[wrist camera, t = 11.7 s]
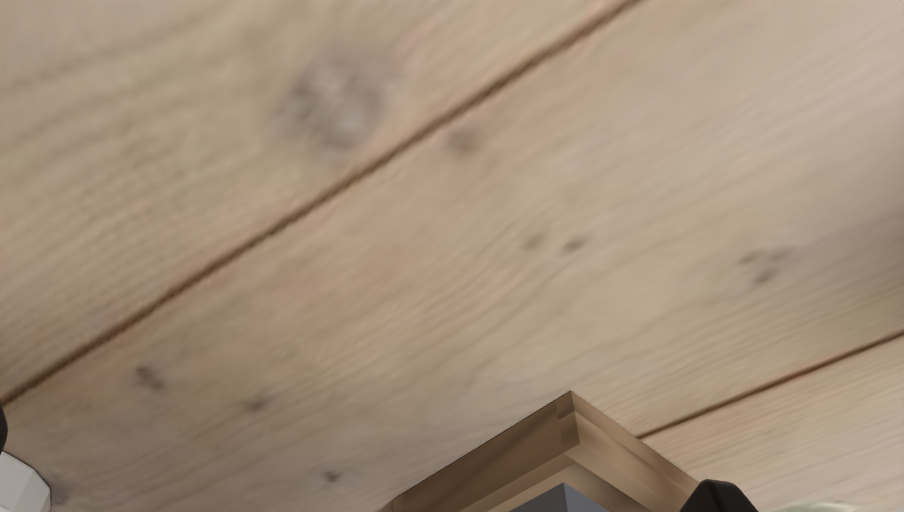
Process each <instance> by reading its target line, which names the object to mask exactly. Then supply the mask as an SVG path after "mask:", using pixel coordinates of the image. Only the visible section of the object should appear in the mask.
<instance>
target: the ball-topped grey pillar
mask: <svg viewBox="0 0 904 512" xmlns="http://www.w3.org/2000/svg"><path fill="white" fill-rule="evenodd" d="M509 512H610V511H608V510H607V509H605V508H604V507H602V506H601V505H599V504H597V503H596V502H594V501H593V500H591V499H590V498H588V497H586V496H585V495H583V494H582V493H580V492H579V491H577V490H575V489H574V488H572V487H571V486H569V485H568V484H566V483H564V482H563V483H561V484H559V485H557V486H555V487H554V488H552V489H550V490H548V491H546V492H544V493H542V494H540V495H539V496H537V497H535V498H533V499H531V500H529V501H527V502H526V503H524V504H522V505H520V506H518V507H516V508H514V509H513V510H511V511H509Z"/></svg>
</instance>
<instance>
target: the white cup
mask: <svg viewBox="0 0 904 512" xmlns="http://www.w3.org/2000/svg"><path fill="white" fill-rule="evenodd" d="M50 508H51V502H50V488H49V487H48V486H47V484H46V483H45V482H44V481H43V480H42V478H41V477H40V476H39V475H38V474H37V472H36V471H35V470H34V469H33V468H31V467H30V466H28V465H26V464H25V463H23V462H21V461H19V460H18V459H16V458H14V457H12V456H11V455H9V454H7V453H5V452H3V451H2V453H1V455H0V512H49V511H50Z"/></svg>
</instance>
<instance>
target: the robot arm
mask: <svg viewBox="0 0 904 512" xmlns="http://www.w3.org/2000/svg"><path fill="white" fill-rule="evenodd" d="M7 433H8V426H7V421H6V417H5V414H4V411H3V407H2V404H1V400H0V455H1V453H2V450H3V448H4V445H5V442H6V439H7ZM679 512H758V511H757V509H756V508H755V507H754V506H753V504H752V503H751V502H750V501H749V500H748V498H747V497H746V496H745V495H744V493H743V492H742V491H741V490H740V489H739V488H738V487H737V486H736V485H734V484H733V483H730V482H726V481H718V480H711V479H705V480H703V481H701V482H700V483H699V484H698V486H697V487H696V488H695V490H694V491H693V492H692V494H691V495H690V497H689V498H688V499H687V501H686V502H685V503H684V505H683V506H682V507H681V509H680V511H679Z"/></svg>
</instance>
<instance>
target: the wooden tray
mask: <svg viewBox="0 0 904 512" xmlns="http://www.w3.org/2000/svg"><path fill="white" fill-rule="evenodd" d="M563 482H564V483H566V484H568V485H569V486H571V487H572V488H574V489H575V490H577V491H579V492H580V493H582V494H583V495H585V496H586V497H588V498H590V499H591V500H593V501H594V502H596V503H597V504H599V505H601V506H602V507H604V508H605V509H607V510H608V511H610V512H679V511H680V509H681V507H682V506H683V505H684V503H685V502H686V501H687V499H688V498H689V497H690V495H691V494H692V492H693V491H694V490H695V488H696V487H697V486H698V484H699V483H698V482H697V481H696V480H694V479H693V478H691V477H690V476H689V475H687V474H686V473H684V472H683V471H682V470H680V469H679V468H678V467H676V466H675V465H673V464H672V463H671V462H669V461H668V460H666V459H665V458H664V457H662V456H661V455H660V454H658V453H657V452H655V451H654V450H653V449H651V448H650V447H648V446H647V445H646V444H644V443H643V442H642V441H640V440H639V439H637V438H636V437H635V436H633V435H632V434H630V433H629V432H628V431H626V430H625V429H624V428H622V427H621V426H619V425H618V424H617V423H615V422H614V421H612V420H611V419H610V418H608V417H607V416H605V415H604V414H603V413H601V412H600V411H599V410H597V409H596V408H594V407H593V406H592V405H590V404H589V403H587V402H586V401H585V400H583V399H582V398H581V397H579V396H578V395H576V394H575V393H574V392H572V391H570V392H568V393H567V394H565V395H563V396H562V397H560V398H558V399H557V400H555V401H554V402H552V403H550V404H549V405H547V406H545V407H544V408H542V409H541V410H539V411H537V412H536V413H534V414H532V415H531V416H529V417H527V418H526V419H524V420H523V421H521V422H519V423H518V424H516V425H514V426H513V427H511V428H509V429H508V430H506V431H505V432H503V433H501V434H500V435H498V436H496V437H495V438H493V439H491V440H490V441H488V442H487V443H485V444H483V445H482V446H480V447H478V448H477V449H475V450H473V451H472V452H470V453H469V454H467V455H465V456H464V457H462V458H460V459H459V460H457V461H455V462H454V463H452V464H451V465H449V466H447V467H446V468H444V469H442V470H441V471H439V472H438V473H436V474H434V475H433V476H431V477H429V478H428V479H426V480H424V481H423V482H421V483H420V484H418V485H416V486H415V487H413V488H411V489H410V490H408V491H406V492H405V493H403V494H402V495H400V496H398V497H397V498H395V499H393V507H392V512H509V511H511V510H513V509H514V508H516V507H518V506H520V505H522V504H524V503H526V502H527V501H529V500H531V499H533V498H535V497H537V496H539V495H540V494H542V493H544V492H546V491H548V490H550V489H552V488H554V487H555V486H557V485H559V484H561V483H563Z"/></svg>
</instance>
